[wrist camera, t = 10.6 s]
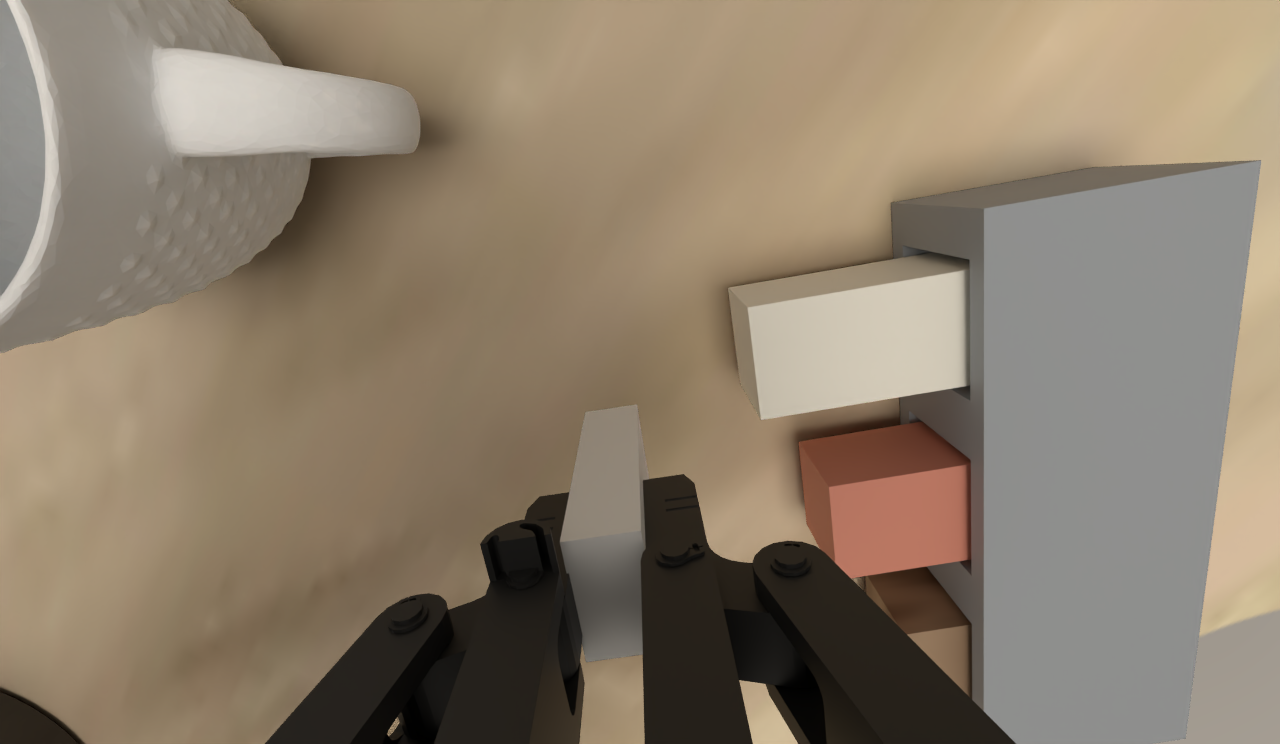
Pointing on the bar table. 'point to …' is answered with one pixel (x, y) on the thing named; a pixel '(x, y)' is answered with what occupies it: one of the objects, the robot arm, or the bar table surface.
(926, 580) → the walnut peg
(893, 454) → the brick peg
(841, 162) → the bar table surface
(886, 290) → the cream peg
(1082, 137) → the bar table surface
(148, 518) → the bar table surface
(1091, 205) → the socket block
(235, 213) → the mug
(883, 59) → the bar table surface
